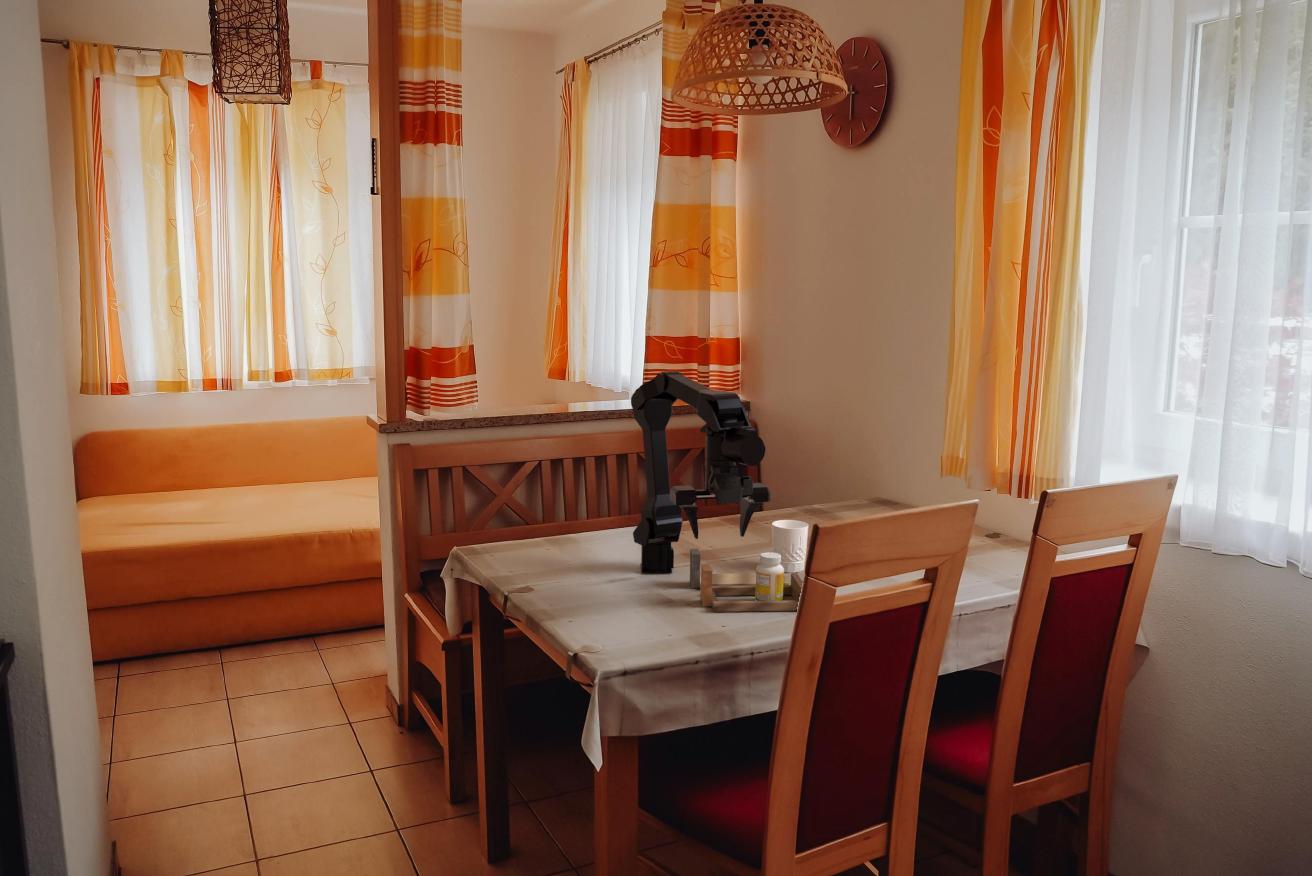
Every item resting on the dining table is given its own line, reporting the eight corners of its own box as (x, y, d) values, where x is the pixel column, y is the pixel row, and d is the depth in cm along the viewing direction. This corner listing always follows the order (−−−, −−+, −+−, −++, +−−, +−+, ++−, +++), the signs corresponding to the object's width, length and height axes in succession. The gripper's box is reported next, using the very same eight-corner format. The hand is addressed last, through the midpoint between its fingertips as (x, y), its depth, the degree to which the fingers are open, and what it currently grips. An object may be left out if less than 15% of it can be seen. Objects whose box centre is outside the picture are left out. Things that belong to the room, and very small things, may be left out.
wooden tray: (705, 611, 184) (705, 575, 183) (698, 593, 195) (699, 559, 193) (808, 610, 185) (809, 574, 184) (796, 592, 196) (797, 558, 195)
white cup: (805, 575, 209) (807, 529, 207) (768, 572, 210) (770, 527, 209) (807, 565, 216) (809, 520, 215) (772, 562, 218) (773, 518, 216)
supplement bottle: (758, 607, 187) (759, 558, 186) (752, 598, 192) (753, 551, 191) (785, 606, 188) (787, 558, 186) (779, 598, 193) (781, 551, 192)
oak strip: (692, 589, 197) (693, 556, 196) (689, 579, 204) (689, 547, 203) (788, 588, 198) (789, 555, 197) (782, 578, 205) (783, 546, 204)
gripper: (683, 467, 178) (682, 550, 180) (780, 463, 182) (778, 545, 184) (669, 457, 189) (668, 535, 191) (761, 454, 193) (760, 531, 195)
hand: (719, 537), depth 190 cm, fingers open, 9 cm apart
